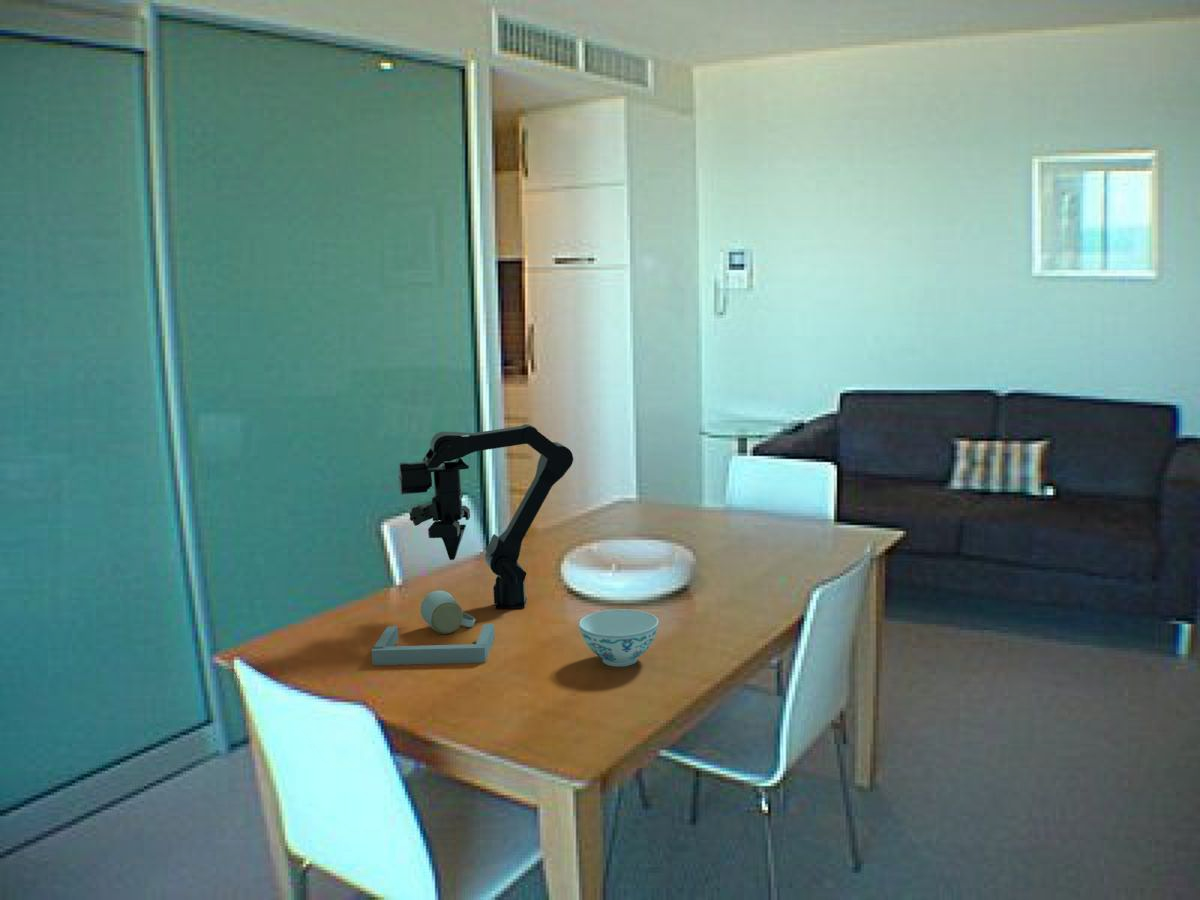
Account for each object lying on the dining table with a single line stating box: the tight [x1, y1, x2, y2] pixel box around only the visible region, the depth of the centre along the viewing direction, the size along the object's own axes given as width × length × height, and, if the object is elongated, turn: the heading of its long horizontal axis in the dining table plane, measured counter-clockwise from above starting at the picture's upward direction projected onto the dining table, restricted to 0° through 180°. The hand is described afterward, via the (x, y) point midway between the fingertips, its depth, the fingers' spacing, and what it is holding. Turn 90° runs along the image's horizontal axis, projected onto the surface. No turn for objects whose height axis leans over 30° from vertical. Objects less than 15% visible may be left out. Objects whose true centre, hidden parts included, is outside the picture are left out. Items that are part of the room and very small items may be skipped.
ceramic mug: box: [420, 590, 476, 635], centre depth 229 cm, size 11×8×8 cm
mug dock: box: [371, 623, 496, 666], centre depth 216 cm, size 22×14×3 cm, turn 88°
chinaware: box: [578, 608, 659, 667], centre depth 207 cm, size 15×15×8 cm
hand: (452, 559), depth 238 cm, fingers closed
